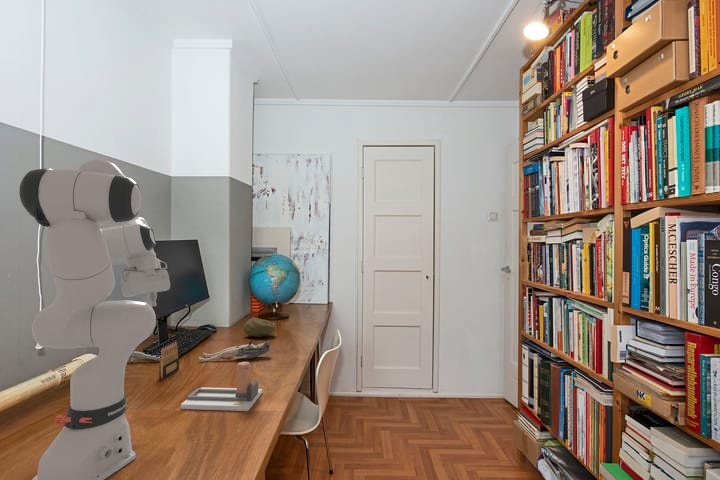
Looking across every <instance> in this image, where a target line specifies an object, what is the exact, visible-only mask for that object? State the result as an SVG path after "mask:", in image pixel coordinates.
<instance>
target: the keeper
mask: <svg viewBox="0 0 720 480" xmlns="http://www.w3.org/2000/svg"><path fill="white" fill-rule="evenodd" d="M251 384H252V365H251V363H250V362H249V361H241V362H238V363H237V368H236V388H237V393H236V397H247V388H248V387H249V386H250V385H251Z"/></svg>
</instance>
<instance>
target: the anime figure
mask: <svg viewBox="0 0 720 480" xmlns="http://www.w3.org/2000/svg"><path fill="white" fill-rule="evenodd" d="M270 349H271V346H270V345H269V342H268V341H266V340H265V342H264V341H263V343H258V344H254V342H253V340H250V341H249V342H248V343H247V344H245V343H244V344H242V345H237V346H230V347H227V348H224V349H222V350H221V351H218V352H214V353H212V354H210V353H207V352H205V351H202V353H203V356H205V357H201V356H200V355H198V360H199V361H201V362H202V363H205V362H207V361H208V362H209V361H217V360H219V359H221V358H222V357H224V356H231V357H232V358H230V359H229V360H230V361H234V360H235V361H236V360H238V359H241V360H249V359H254V358H257V357H259V356H262V355H265V354H266V353H268V352H269V351H270ZM235 356H236V357H235Z"/></svg>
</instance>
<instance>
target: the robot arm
mask: <svg viewBox="0 0 720 480" xmlns="http://www.w3.org/2000/svg"><path fill="white" fill-rule="evenodd" d="M19 200H20V203H21V205H22V206H23V207H24V209H25V211H26V212H27V213H28V214H29V215H30V216H31V217H33V218H34V219H35V221H36V222H37V223H38V224H39V225H40V226H43V227H45V228H47V230H46V234H45V247H46V256H47V261H48V266H49V269H50V272H51V274H52V279H53V283H54V287H55V293H56V295H55V299H54V300H53V302H51V303H50V304H49V305H47V306H45V307H43V308H42V309H41V310H40V311H38V313H37V314H36V316H35V317H34V319H33V321H32V324H31V334H32V337H33V339H34V341H35V342H36V343H37V345H38V346H39V347H42V348H49V349H60V350H61V349H62V350H68V349H71V350H72V349H79V348H80V349H82V348H93V347H94V348H96V347H97V348H98V351H99V352H98V355H97V356H95V357H94V358H91V359H89V360H87V361H85V362H84V363H82V364H80V365H79V366H78V367H76V368H75V369H74V371H73V372H72V374H71V375H70V383H69V384H70V385H69V387H70V393H69V395H70V398H69V399H70V405H69V406H68V409H67V410H66V411H67V412H66V414H65V415H64V414H63V415H62V414H58V415H57V416H55V419H54V424H55V425H59V426H60V425H62V426H63V425H64V426H63V428H62V429H61V430H60V432H59V433H58V434H57V436H56V437H55V439H53V441H52V443H51V444H50V445H49V447H48V448H47V449H46V450H45V452H44V453H43V455H41V457H40V458H39V461H38V466H37V474H36V475H35V476H34V477H33V478H32V479H31V480H106V479H107V478H109V477H110V476H112V475H113V474H115V473H116V472H118V471H119V470H120V469H122V468H123V467H124V466H126V465H128V464H130V463H132V462H133V461H134V460H135V459H136V458H137V455H136V452H135V451H134V450H133V445H132V437H131V429H130V428H131V427H130V424H129V422H128V420H127V417H126V414H125V412H126V411H127V397H126V394H125V374H126V367H127V364H128V362H127V361H128V359H129V360H130V358H131V356H130V355H131V354H132V352H134V351H135V350H136V348H137V347H138V346H139V345H141V344H142V343H143V342H144V341H145V340H147V338H149V337H150V336H151V335H152V333H153V332H154V330H155V327H156V324H157V323H156V322H157V317H156V312H155V310H154V308H153V307H157V297H158V293H161V292H166V291H169V290H170V289H171V281H170V275H169V272H168V270H167V269H168V265H167V263H166V261H165V262H164V261H162V260H160V259H159V258H157V253H156V252H155V250H154V248H155V246H156V238H155V233H154V230H153V228H152V227H150V226H149V224H148V221H147V220H146V219H145V218H143V217H137V216H138V214H139V211H140V209H141V206H142V194H141V191H140V186H139V184H138V183H137V182H136V181H135V180H133V179H132V178H131V177H129V176H128V177H127V176H125V174H124V173H123V172H122V171H121V170H120V168H119V167H118V166H117V165H116V164H114V163H113V162H111V161H108V160H106V159H91V160H88V161H85V162H84V163H83V164H81V165H79V167H78V169H53V168H50V167H49V168H39V169H33V170H29V171H28V172H27V173H26V174H25V175H24V176H23V178H22V179H21V181H20V185H19ZM117 224H120V225H119V226H113V225H117ZM109 226H112V227H109ZM121 258H125V262H126V267H124V268H123V269H122V271H121V277H120V287H121V293H122V296H123V297H124V298H131V297H136V296H140V297H141V300H142V301H139V300H132V299H131V300H129V299H124V300H123V299H121V300H120V299H119V300H106V299H107V298H108V297H109V296H110V295H111V294H112V293H113V291H114V290H115V286H116V277H115V272H114V268H113V267H114V266H113V263H112V260H114V259H121ZM129 357H130V358H129Z"/></svg>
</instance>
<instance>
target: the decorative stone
mask: <svg viewBox="0 0 720 480" xmlns="http://www.w3.org/2000/svg"><path fill="white" fill-rule="evenodd" d="M242 329H243V332H244V333H245V334H246V335H248V336H250V337H253V338H262V337H265V336H269V335H271V334H272V332H273V331H274V330H275V326H274V323H273V322H271V321H270V320H266V319H262V318H258V317H251V318H249V319H248V320H246V322H245V323H244V324H243V327H242Z"/></svg>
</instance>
